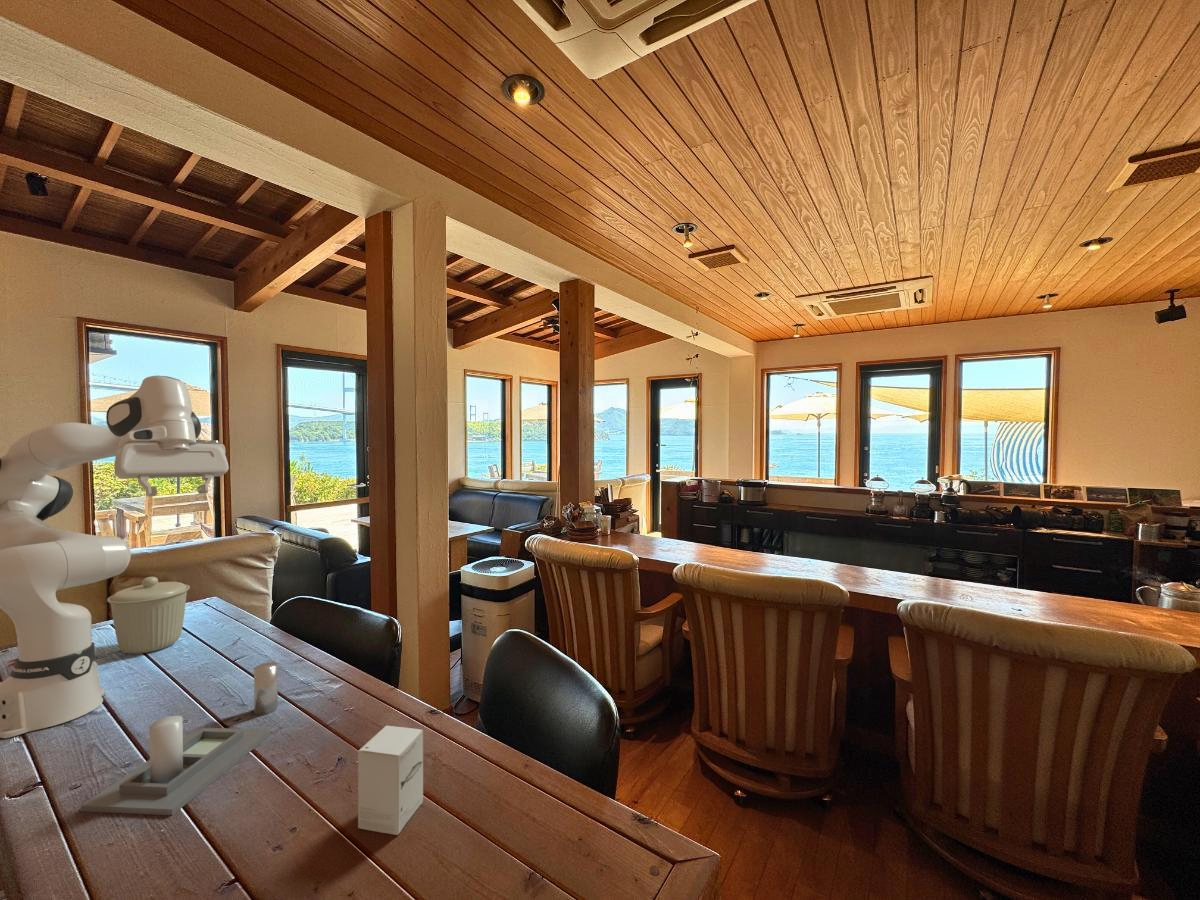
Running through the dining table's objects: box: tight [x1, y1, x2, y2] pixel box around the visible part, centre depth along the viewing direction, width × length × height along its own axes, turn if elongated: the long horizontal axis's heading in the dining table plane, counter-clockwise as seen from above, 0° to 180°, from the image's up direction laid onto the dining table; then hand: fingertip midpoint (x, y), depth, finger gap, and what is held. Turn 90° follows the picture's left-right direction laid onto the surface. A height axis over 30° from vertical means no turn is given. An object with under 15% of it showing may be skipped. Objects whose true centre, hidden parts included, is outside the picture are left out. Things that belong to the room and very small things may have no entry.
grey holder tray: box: [80, 715, 272, 816], centre depth 91 cm, size 16×22×11 cm
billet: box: [253, 661, 279, 716], centre depth 111 cm, size 4×4×10 cm
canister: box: [106, 576, 191, 655], centre depth 145 cm, size 18×18×21 cm
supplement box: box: [357, 725, 424, 836], centre depth 79 cm, size 7×7×13 cm
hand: (178, 494), depth 113 cm, fingers open, 8 cm apart
